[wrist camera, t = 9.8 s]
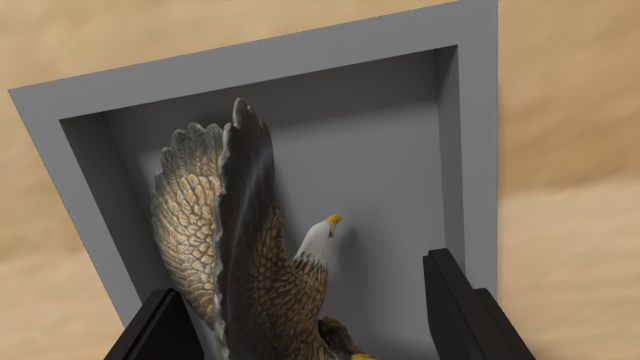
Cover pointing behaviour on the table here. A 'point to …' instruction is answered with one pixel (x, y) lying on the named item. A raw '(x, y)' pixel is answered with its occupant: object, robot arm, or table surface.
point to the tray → (303, 157)
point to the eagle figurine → (243, 246)
